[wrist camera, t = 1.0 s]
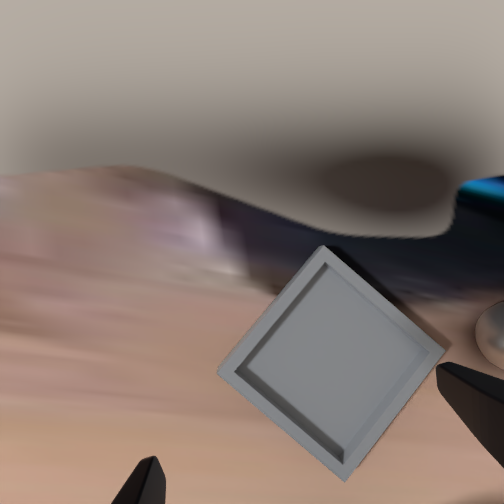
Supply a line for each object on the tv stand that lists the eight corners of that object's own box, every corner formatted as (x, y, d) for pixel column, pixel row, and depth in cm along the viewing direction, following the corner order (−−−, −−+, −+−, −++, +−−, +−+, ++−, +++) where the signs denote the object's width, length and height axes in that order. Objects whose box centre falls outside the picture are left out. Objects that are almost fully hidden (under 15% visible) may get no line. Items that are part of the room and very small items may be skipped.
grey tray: (433, 345, 25) (445, 350, 24) (338, 469, 24) (344, 482, 23) (318, 246, 25) (323, 245, 24) (217, 366, 24) (216, 373, 22)
